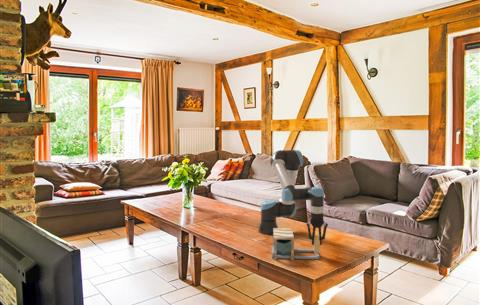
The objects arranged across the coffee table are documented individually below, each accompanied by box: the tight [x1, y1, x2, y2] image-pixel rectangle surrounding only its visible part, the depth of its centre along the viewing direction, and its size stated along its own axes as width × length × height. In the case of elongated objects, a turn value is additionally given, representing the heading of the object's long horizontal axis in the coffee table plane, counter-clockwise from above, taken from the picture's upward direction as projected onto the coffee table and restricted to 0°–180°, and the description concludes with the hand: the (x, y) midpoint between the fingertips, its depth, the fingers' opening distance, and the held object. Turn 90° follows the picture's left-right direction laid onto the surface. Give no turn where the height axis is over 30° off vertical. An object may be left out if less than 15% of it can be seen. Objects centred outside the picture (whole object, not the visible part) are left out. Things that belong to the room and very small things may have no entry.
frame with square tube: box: [271, 234, 320, 260], centre depth 223 cm, size 14×28×12 cm, turn 86°
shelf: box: [272, 227, 295, 261], centre depth 224 cm, size 19×12×14 cm, turn 176°
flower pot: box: [277, 239, 291, 256], centre depth 223 cm, size 9×9×9 cm
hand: (316, 250), depth 222 cm, fingers closed on frame with square tube, 2 cm apart
